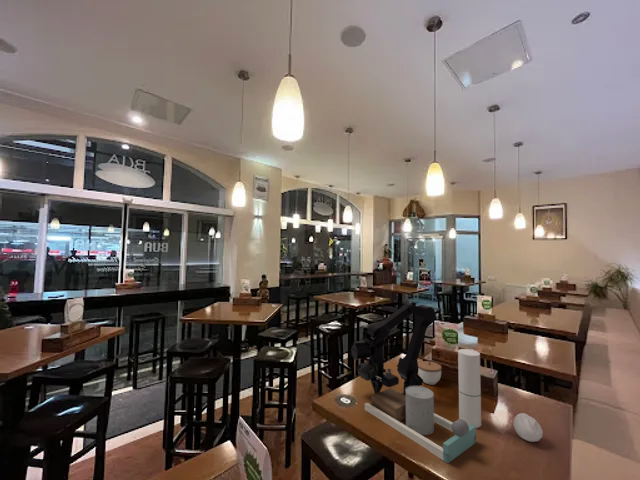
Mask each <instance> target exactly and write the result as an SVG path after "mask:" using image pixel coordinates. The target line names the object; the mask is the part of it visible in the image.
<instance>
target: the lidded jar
mask: <svg viewBox="0 0 640 480" xmlns="http://www.w3.org/2000/svg"><path fill="white" fill-rule="evenodd" d="M418 368H419V369H418V375H419V376H420V377H421V378H422V379H423V383H424V384H426V385H437V383H438V382H439V381H440V380H441V376H442V365H440V364H439V363H436V362H434V361H427V360H424V361H422V360H421V361H419V362H418Z"/></svg>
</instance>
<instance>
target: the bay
mask: <svg viewBox="0 0 640 480" xmlns="http://www.w3.org/2000/svg"><path fill="white" fill-rule="evenodd" d="M364 410H365V411H366V412H367V413H369V414H371V415H372V416H374V417H375V418H377V419H379V420H380V421H381V422H383V423H385V424H386V425H388V426H390V427H391V428H393V429H395V430H396V431H397V432H399V433H401V434H402V435H403V436H405V437H406V438H408V439H410V440H412V441H413V442H415V443H416V444H418V445H419V446H421V447H422V448H425V450H427V452H429V453H430V454H432V455H434V456H436V457H437V458H439V459H440V460H442V461H443V462H445V463H446V464H450V463H451V462H452V461H453V460H454V459H456V458H457V457H459V456H460V455H462V454H463V453H464V452H466V451H467V450H469V448H471V447H472V446H473V445H475V444H476V443H477V428H476V426H474V425H472V424H471V425H469V426H468V424H467V423H466V422H465V421H464V420H462V419H459V418H458V419H456V420H455V421H451V420H449V419H446V418H445V417H443V416H442V415H441V416H440V415H439V414H437V413H435V412H434V424H438V425H440V426H441V427H443V428H445V429H447V430H449V431H450V432H452V433H453V434H454V435H453V436H451V437H450V438H448V439H447V440H446V441H444V442H443V443H442V446H440V445H438V444H437V443H435V442H433V440H430V439H429V438H427V437H425V435H420V434H419V433H417V432H415V431H414V430H412V429H410V428H409V427H407V426H406V424H404V423H403V422H401V421H400V422H399V421H397V420H396V419H394V418H392V417H391V416H389V415H387V414H386V413H384V412H382V411H381V410H379V409H377V408H376V407H374V406H372V403H369V402H365V403H364Z"/></svg>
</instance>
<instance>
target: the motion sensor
mask: <svg viewBox="0 0 640 480" xmlns="http://www.w3.org/2000/svg"><path fill="white" fill-rule="evenodd" d="M513 428H514V430H515V432H516V434H517V435H518V436H519V437H520V438H521V439H523V440H525V441H527V442H530V443H532V442H533V443H535V442H538V441H540V440H541V439H542V438H543V433H544V432H543V428H542V426H541V425H540V423H538V421H537V420H536V419H535V418H534V417H532V416H530V415H528V414H527V413H524V412H521V413H518V414H516V415H515V417H513Z"/></svg>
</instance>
